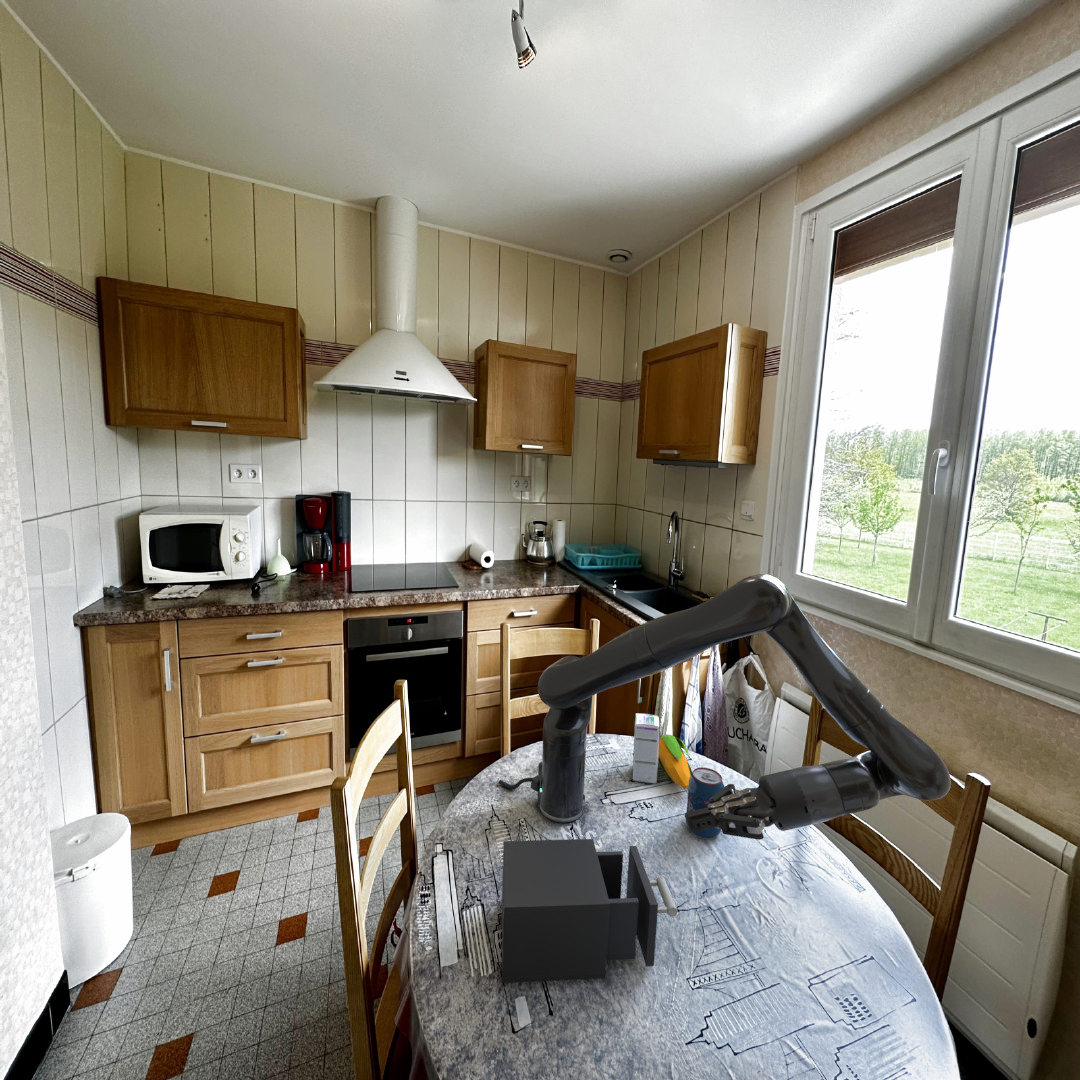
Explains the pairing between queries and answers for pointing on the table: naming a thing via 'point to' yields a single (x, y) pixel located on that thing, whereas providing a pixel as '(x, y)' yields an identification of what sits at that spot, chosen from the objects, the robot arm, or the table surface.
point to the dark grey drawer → (632, 906)
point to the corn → (674, 760)
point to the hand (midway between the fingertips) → (687, 822)
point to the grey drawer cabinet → (553, 911)
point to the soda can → (703, 795)
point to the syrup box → (646, 748)
